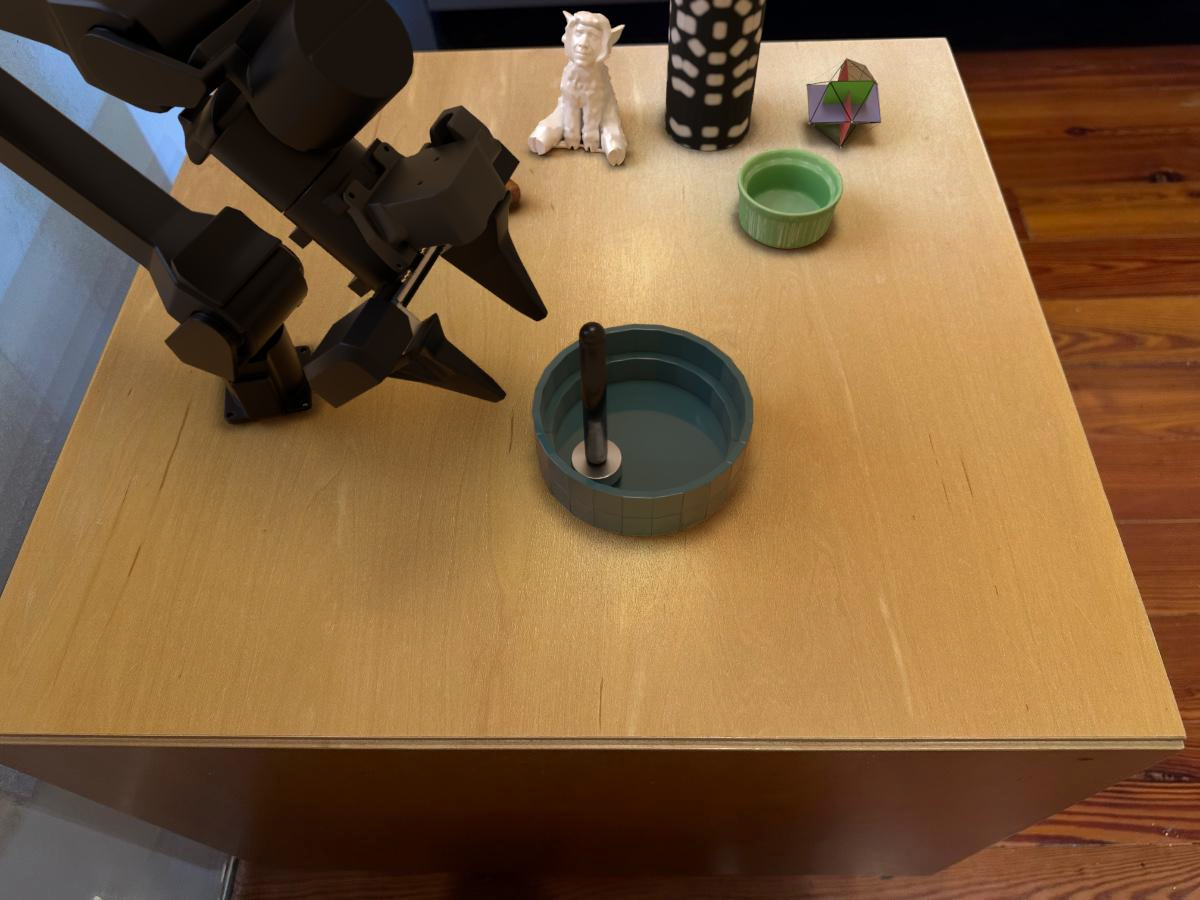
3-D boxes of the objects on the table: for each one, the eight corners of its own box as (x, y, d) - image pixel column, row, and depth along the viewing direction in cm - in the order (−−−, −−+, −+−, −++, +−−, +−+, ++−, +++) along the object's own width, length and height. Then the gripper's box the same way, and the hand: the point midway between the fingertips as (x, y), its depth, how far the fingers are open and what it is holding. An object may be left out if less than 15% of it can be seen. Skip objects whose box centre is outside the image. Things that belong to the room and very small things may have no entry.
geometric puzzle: (887, 147, 84) (895, 53, 82) (812, 148, 84) (818, 53, 82) (866, 148, 91) (873, 61, 89) (797, 148, 91) (802, 61, 89)
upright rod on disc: (602, 440, 67) (598, 294, 55) (632, 472, 65) (635, 330, 53) (561, 464, 66) (548, 321, 53) (591, 498, 64) (584, 358, 52)
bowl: (523, 389, 71) (517, 341, 67) (713, 358, 73) (719, 309, 68) (556, 558, 63) (552, 516, 58) (771, 519, 64) (782, 475, 60)
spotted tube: (752, 151, 88) (782, -66, 71) (665, 151, 88) (675, -65, 72) (746, 99, 92) (773, -115, 76) (663, 99, 93) (673, -115, 76)
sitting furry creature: (526, 155, 88) (515, 37, 78) (549, 103, 93) (541, -15, 83) (623, 168, 86) (624, 49, 77) (641, 114, 91) (644, -4, 81)
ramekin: (774, 174, 86) (781, 134, 82) (854, 218, 82) (865, 178, 78) (712, 221, 82) (716, 181, 78) (792, 270, 78) (801, 230, 75)
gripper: (291, 225, 39) (550, 443, 46) (468, 0, 49) (659, 207, 56) (200, 313, 47) (432, 488, 54) (369, 104, 57) (546, 273, 64)
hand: (523, 357), depth 56 cm, fingers open, 7 cm apart
